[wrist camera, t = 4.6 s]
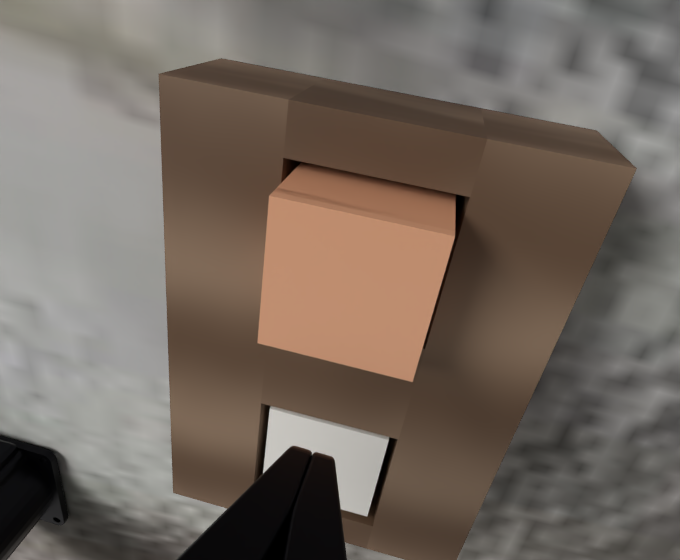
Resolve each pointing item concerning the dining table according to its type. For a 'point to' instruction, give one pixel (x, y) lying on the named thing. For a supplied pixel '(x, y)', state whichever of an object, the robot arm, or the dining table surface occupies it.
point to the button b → (353, 268)
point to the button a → (331, 452)
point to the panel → (451, 305)
